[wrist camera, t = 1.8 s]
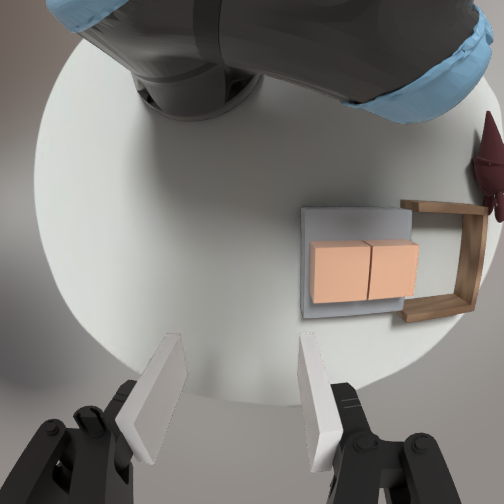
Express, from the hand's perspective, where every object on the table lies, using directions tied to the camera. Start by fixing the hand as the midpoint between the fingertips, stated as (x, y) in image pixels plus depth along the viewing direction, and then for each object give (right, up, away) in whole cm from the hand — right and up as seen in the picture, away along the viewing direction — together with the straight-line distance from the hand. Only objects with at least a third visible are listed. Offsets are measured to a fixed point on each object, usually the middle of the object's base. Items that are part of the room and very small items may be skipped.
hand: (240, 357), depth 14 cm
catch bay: (+25, +5, +17) cm, 31 cm away
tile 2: (+15, +4, +15) cm, 22 cm away
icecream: (+33, +18, +14) cm, 40 cm away
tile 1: (+9, +4, +15) cm, 18 cm away
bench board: (+12, +5, +18) cm, 22 cm away
